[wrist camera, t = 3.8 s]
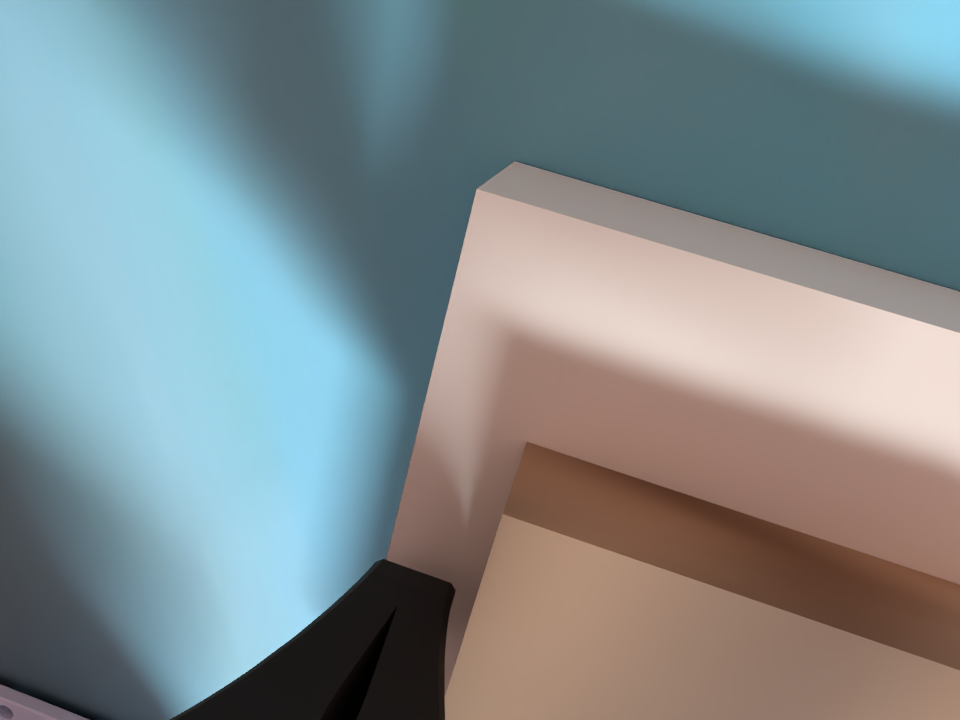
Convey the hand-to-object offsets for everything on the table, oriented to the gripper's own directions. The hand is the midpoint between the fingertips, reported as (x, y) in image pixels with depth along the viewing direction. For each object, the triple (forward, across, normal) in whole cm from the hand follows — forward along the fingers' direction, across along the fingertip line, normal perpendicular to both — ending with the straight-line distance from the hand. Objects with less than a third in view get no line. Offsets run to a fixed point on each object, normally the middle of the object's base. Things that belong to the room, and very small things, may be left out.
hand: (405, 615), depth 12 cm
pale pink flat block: (+4, -4, 0) cm, 6 cm away
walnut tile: (+1, -4, 0) cm, 5 cm away
